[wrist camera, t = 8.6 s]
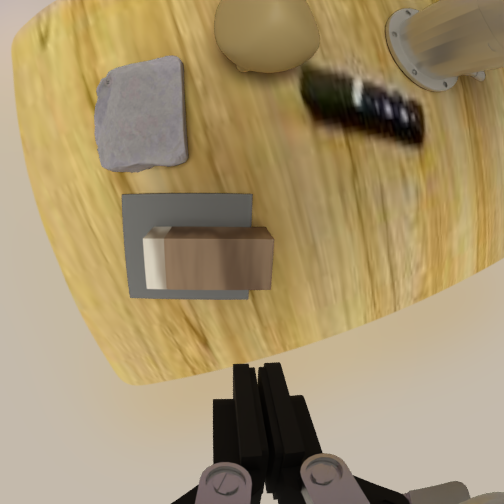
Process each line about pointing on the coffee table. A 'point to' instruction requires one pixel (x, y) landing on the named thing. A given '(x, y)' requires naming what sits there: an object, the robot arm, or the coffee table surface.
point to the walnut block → (208, 258)
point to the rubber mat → (178, 215)
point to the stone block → (142, 116)
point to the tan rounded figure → (266, 33)
